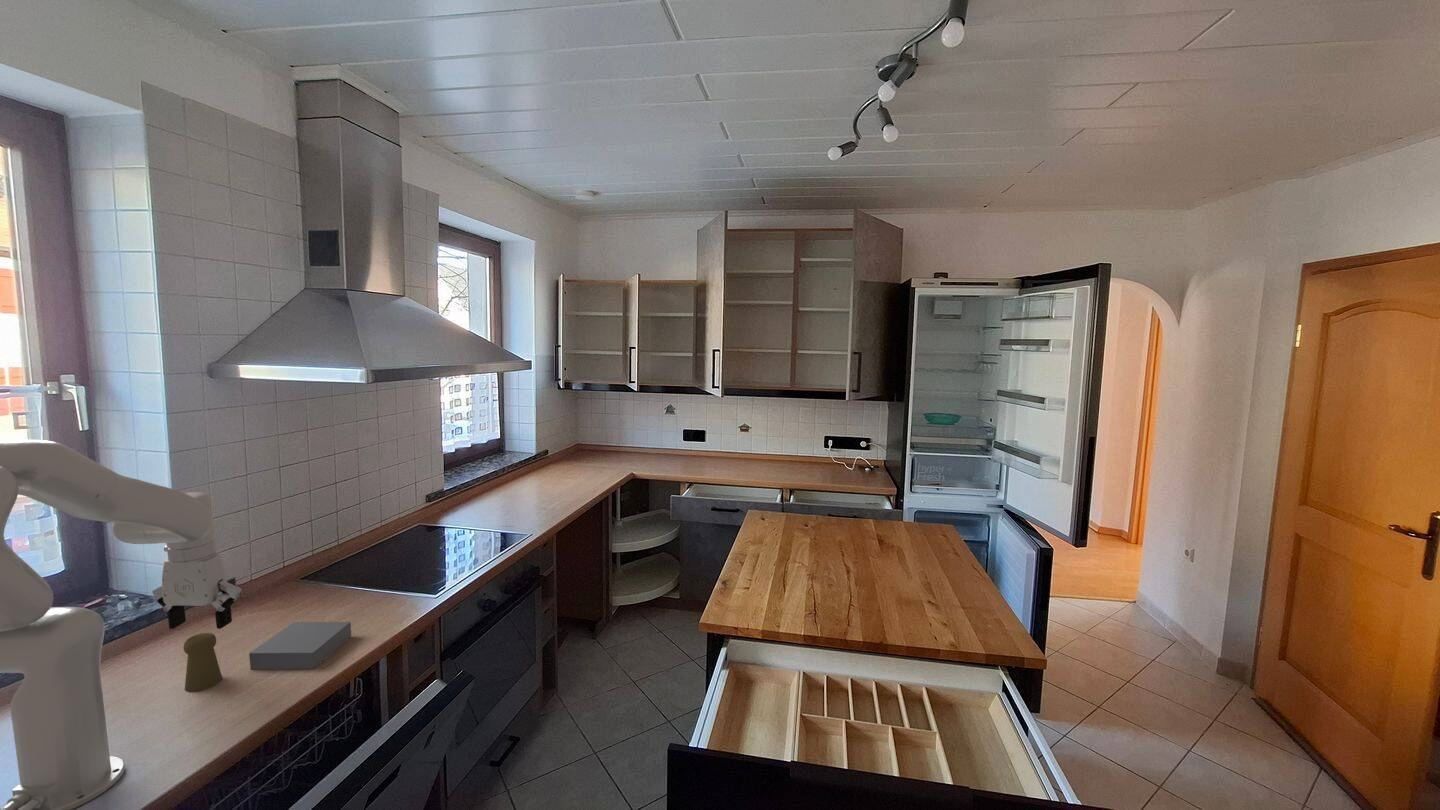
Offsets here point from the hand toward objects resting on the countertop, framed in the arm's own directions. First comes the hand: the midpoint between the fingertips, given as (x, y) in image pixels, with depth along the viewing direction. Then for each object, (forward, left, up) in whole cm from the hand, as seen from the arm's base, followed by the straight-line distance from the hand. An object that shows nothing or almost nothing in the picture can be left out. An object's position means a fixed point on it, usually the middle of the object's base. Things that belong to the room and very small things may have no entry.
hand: (201, 625), depth 119 cm
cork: (-1, 0, -13) cm, 13 cm away
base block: (+11, -13, -13) cm, 22 cm away
